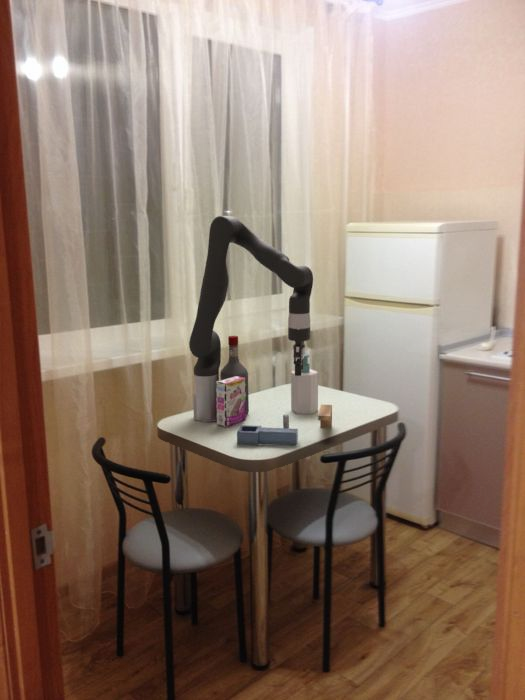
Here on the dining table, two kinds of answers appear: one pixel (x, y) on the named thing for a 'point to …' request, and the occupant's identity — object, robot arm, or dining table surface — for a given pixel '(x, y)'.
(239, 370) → the liquor
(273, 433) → the link
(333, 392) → the dining table surface
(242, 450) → the dining table surface
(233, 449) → the dining table surface
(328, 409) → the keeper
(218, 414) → the candy bar box
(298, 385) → the soap bottle
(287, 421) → the cylinder
